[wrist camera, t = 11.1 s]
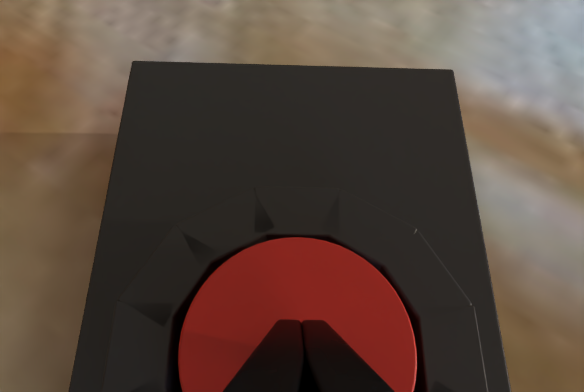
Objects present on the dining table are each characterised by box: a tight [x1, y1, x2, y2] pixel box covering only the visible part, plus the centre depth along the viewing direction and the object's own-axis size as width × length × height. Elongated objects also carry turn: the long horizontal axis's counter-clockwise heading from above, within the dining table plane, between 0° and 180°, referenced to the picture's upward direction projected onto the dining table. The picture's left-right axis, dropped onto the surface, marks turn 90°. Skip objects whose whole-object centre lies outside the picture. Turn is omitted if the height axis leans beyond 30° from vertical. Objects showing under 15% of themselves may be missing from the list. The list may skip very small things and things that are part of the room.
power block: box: [69, 61, 511, 392], centre depth 14 cm, size 13×10×6 cm
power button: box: [178, 237, 417, 392], centre depth 10 cm, size 4×4×2 cm
